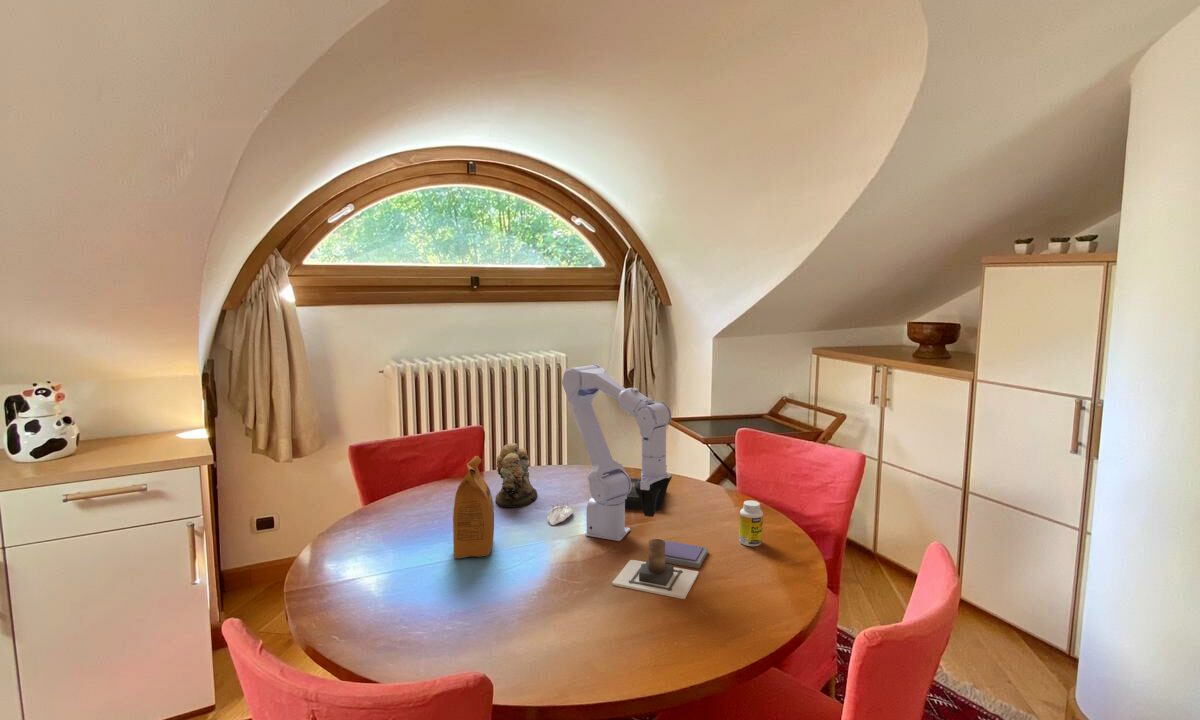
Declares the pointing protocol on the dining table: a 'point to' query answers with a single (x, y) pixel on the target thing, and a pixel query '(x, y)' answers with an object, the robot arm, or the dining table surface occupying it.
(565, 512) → the pincushion
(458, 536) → the coffee package
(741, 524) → the supplement bottle
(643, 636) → the dining table surface
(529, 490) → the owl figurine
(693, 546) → the ink pad
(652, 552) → the stamp
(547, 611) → the dining table surface
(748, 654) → the dining table surface
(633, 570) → the marked board
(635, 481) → the portable cd player
